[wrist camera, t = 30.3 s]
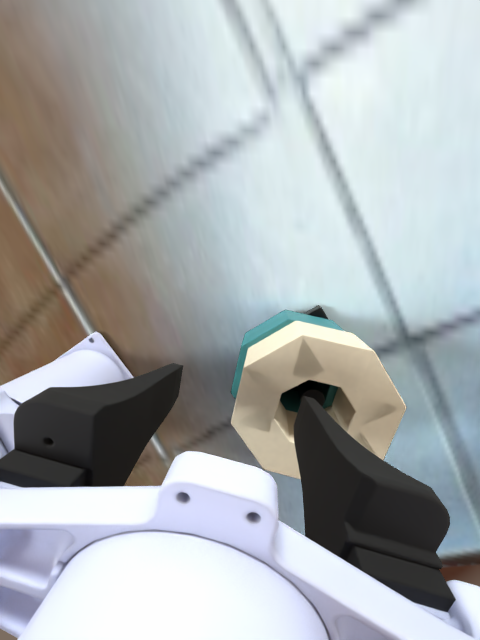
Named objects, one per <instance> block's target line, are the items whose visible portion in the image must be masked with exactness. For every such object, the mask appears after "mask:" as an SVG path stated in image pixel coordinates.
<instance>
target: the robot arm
mask: <svg viewBox="0 0 480 640" xmlns="http://www.w3.org/2000/svg"><path fill="white" fill-rule="evenodd" d="M92 338H93V340H94V341H92ZM182 370H183V366H182V365H178V364H174V363H173V364H169V365H167V366H164V367H162V368H159V369H157V370H154V371H152V372H149V373H146V374H143V375H140V376H137V377H133V376H132V374H131V373H130V372H129V370H128V369H127V368H126V367H125V365H124V364H123V363H122V361H121V360H120V359H119V357H118V356H117V355H116V353H115V352H114V351H113V349H112V348H111V347H110V346H109V344H108V343H107V342H106V340H105V339H104V338H103V336H102V335H101V334H100V333H98V332H95V333H92V334H91V335H90V336H88V337H87V338H85V339H84V340H83V341H81V342H80V343H78V344H77V345H76V346H74V347H73V348H72V349H70V350H69V351H67V352H66V353H65V354H63V355H62V356H60V357H59V358H58V359H56V360H55V361H54V362H52V363H49V364H47V365H45V366H43V367H41V368H39V369H36V370H34V371H32V372H30V373H28V374H25V375H23V376H21V377H19V378H17V379H15V380H12V381H10V382H8V383H6V384H4V385H1V386H0V628H1V629H3V630H4V631H6V632H8V633H10V634H11V635H13V636H15V637H17V638H18V640H480V587H479V586H476V585H472V584H469V583H465V582H462V581H458V580H451V581H447V582H446V581H445V579H444V577H443V576H442V574H441V572H440V570H439V569H441V568H442V562H441V561H440V559H439V557H438V555H437V554H436V551H437V549H438V547H439V545H440V544H441V542H442V540H443V539H444V537H445V535H446V533H447V531H448V528H449V526H450V517H449V514H448V511H447V509H446V508H445V506H444V505H443V504H442V502H441V501H440V499H439V498H438V497H437V495H436V494H435V492H434V491H433V490H432V488H431V487H429V486H427V485H425V484H423V483H421V482H419V481H417V480H416V479H414V478H412V477H410V476H408V475H406V474H404V473H403V472H401V471H399V470H398V469H396V468H394V467H393V466H391V465H389V464H388V463H386V462H385V461H383V460H382V459H380V458H379V457H377V456H376V455H375V454H373V453H372V452H370V451H369V450H368V449H366V448H365V447H364V446H362V445H361V444H360V443H359V442H357V441H356V440H355V439H354V438H353V437H351V436H350V435H349V434H348V433H347V432H346V431H345V430H344V429H343V428H342V427H341V426H340V425H339V424H338V423H337V422H336V421H335V420H334V419H333V418H332V417H331V416H330V415H329V414H328V413H327V412H326V411H325V410H324V408H323V407H322V406H321V405H320V404H319V403H318V402H317V401H316V400H315V399H314V398H310V397H306V396H303V397H302V400H301V404H300V407H299V410H298V413H297V416H296V419H295V422H294V444H295V449H296V455H297V461H298V466H299V472H300V477H301V483H302V491H303V504H304V519H305V536H304V535H302V534H300V533H299V532H297V531H296V530H294V529H292V528H291V527H289V526H287V525H286V524H284V523H282V522H281V521H279V519H278V494H277V483H276V482H275V481H274V479H273V478H272V476H271V475H270V474H269V473H267V472H265V471H263V470H261V469H260V468H258V467H254V466H250V465H247V464H243V463H239V462H236V461H232V460H228V459H225V458H221V457H217V456H214V455H210V454H206V453H202V452H193V451H186V452H184V453H182V454H180V455H178V456H176V457H175V459H174V461H173V463H172V465H171V467H170V469H169V471H168V473H167V475H166V477H165V479H164V481H163V483H162V486H124V484H125V482H126V480H127V479H128V477H129V475H130V473H131V471H132V469H133V468H134V466H135V464H136V462H137V460H138V459H139V457H140V455H141V453H142V451H143V450H144V448H145V446H146V445H147V443H148V442H149V440H150V439H151V437H152V436H153V434H154V433H155V432H156V430H157V429H158V427H159V426H160V425H161V423H162V422H163V420H164V419H165V418H166V416H167V415H168V413H169V412H170V410H171V409H172V407H173V405H174V403H175V401H176V399H177V397H178V394H179V388H180V382H181V376H182Z"/></svg>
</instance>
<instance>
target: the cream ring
mask: <svg viewBox="0 0 480 640" xmlns="http://www.w3.org/2000/svg"><path fill="white" fill-rule="evenodd" d="M307 380H313V381H317V382H321V383H325V384H329V385H333V386H337V387H338V389H337V392H336V395H335V398H334V400H333V403H332V406H330V407H327V408H325V409H324V410H325V411H326V412H327V413H328V414H329V415H330V416H331V417H332V418H333V419H334V420H335V421H336V422H337V423H338V424H339V425H340V426H341V427H342V428H343V429H344V430H345V431H346V432H347V433H348V434H349V435H350V436H351V437H353V438H354V439H355V440H356V441H357V442H359V443H360V444H361V445H362V446H364V447H365V448H366V449H368V450H369V451H370V452H372V453H373V454H375V455H376V456H377V457H379V458H380V459H382V460H384V457H385V455H386V453H387V451H388V448H389V446H390V444H391V442H392V439H393V437H394V435H395V433H396V431H397V428H398V426H399V424H400V422H401V419H402V417H403V415H404V413H405V410H406V405H405V403H404V401H403V400H402V398H401V396H400V394H399V393H398V391H397V389H396V387H395V386H394V384H393V382H392V381H391V379H390V377H389V375H388V374H387V372H386V370H385V368H384V367H383V365H382V363H381V362H380V360H379V358H378V356H377V355H376V353H375V351H373V350H372V349H371V348H370V347H369V346H367V345H366V344H365V343H364V342H363V341H361V340H360V339H359V338H358V337H357V336H355V335H354V334H353V333H349V332H345V331H341V330H336V329H332V328H327V327H323V326H319V325H314V324H310V323H305V322H301V321H294V322H292V323H291V324H289V325H287V326H285V327H284V328H282V329H280V330H279V331H277V332H275V333H273V334H272V335H270V336H268V337H266V338H265V339H263V340H261V341H259V342H258V343H256V344H254V345H253V346H251V347H249V348H248V350H247V355H246V359H245V363H244V367H243V371H242V376H241V380H240V384H239V389H238V393H237V397H236V402H235V406H234V411H233V415H232V419H231V424H232V425H233V427H234V428H235V430H236V431H237V432H238V434H239V435H240V437H241V438H242V439H243V441H244V442H245V444H246V445H247V446H248V448H249V449H250V451H251V452H252V453H253V455H254V456H255V458H256V459H257V460H258V462H259V463H260V465H261V466H262V467H263V469H264V470H268V471H272V472H275V473H279V474H283V475H286V476H290V477H294V478H298V479H301V477H300V472H299V466H298V461H297V455H296V449H295V444H294V422H295V419H296V416H297V412H293V411H289V410H286V409H285V408H284V406H283V405H282V403H281V402H280V398H281V394H282V393H284V392H286V391H288V390H290V389H292V388H294V387H296V386H298V385H299V384H301V383H303V382H305V381H307Z"/></svg>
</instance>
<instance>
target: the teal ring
mask: <svg viewBox="0 0 480 640" xmlns="http://www.w3.org/2000/svg"><path fill="white" fill-rule="evenodd" d="M294 321H301V322H305V323H310V324H314V325H319V326H323V327H327V328H332V329H336V330H341V331H344V330H342V329H341V328H340V327H339V326H338V325H337V324H336V323H335V322H334V321H332V320H328V319H324V318H320V317H315V316H311V315H307V314H302V313H298V312H293V311H289V310H284V311H282V312H281V313H279V314H277V315H275V316H274V317H272V318H270V319H269V320H267V321H265V322H264V323H262V324H260V325H259V326H257V327H255V328H253V329H252V330H250V331H248V332H247V333H245V336H244V339H243V342H242V345H241V349H240V353H239V358H238V362H237V367H236V371H235V376H234V380H233V385H232V389H231V394H232V395H233V397H234V398H235V399H236V397H237V393H238V389H239V384H240V380H241V376H242V371H243V367H244V363H245V359H246V355H247V350H248V348H249V347H251V346H253V345H254V344H256V343H258V342H259V341H261V340H263V339H265V338H266V337H268V336H270V335H272V334H273V333H275V332H277V331H279V330H280V329H282V328H284V327H285V326H287V325H289V324H291V323H292V322H294ZM319 385H320V387H321V390H322V392H323V394H324V397H325V403H324V405H323V406H322V407H323V408H324V409H325V408H327V407H330V406H332V403H333V400H334V398H335V395H336V392H337V389H338V387H337V386H333V385H329V384H325V383H321V382H319ZM280 402H281V403H282V405H283V406H284V408H285V409H286V410H289V411H293V412H297V413H298V410H299V407H300V404H301V400H300V396H299V391H295V390H291V389H290V390H288V391H286V392H284V393H282V394H281V398H280Z"/></svg>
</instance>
